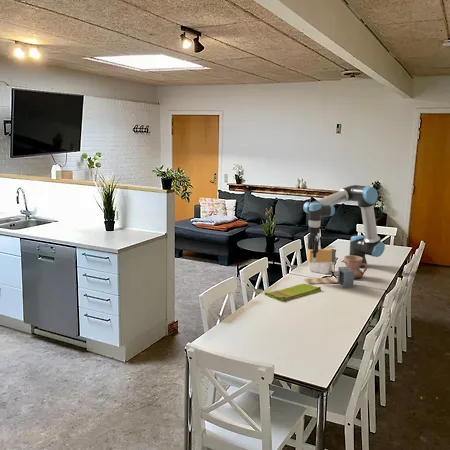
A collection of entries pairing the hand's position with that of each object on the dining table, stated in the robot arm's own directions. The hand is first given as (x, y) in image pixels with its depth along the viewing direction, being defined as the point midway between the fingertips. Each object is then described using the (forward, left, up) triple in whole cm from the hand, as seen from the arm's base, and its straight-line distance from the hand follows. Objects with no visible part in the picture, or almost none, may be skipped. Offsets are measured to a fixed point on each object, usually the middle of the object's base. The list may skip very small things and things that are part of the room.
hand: (312, 261), depth 305 cm
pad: (-7, 0, -14) cm, 16 cm away
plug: (-6, 0, 0) cm, 6 cm away
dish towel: (+20, +20, -15) cm, 32 cm away
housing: (-20, +10, -14) cm, 26 cm away
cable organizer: (-17, -23, -15) cm, 32 cm away
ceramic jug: (-34, -7, -15) cm, 38 cm away
